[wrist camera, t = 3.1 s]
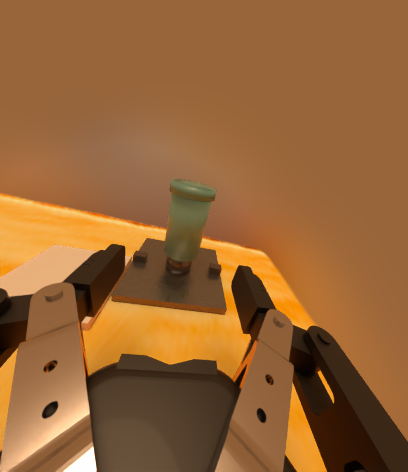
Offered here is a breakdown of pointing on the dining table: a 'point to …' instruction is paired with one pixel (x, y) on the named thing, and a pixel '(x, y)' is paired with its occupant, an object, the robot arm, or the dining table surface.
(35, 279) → the tile
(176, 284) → the base plate
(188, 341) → the dining table surface
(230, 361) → the dining table surface
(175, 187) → the green cup
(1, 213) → the dining table surface
